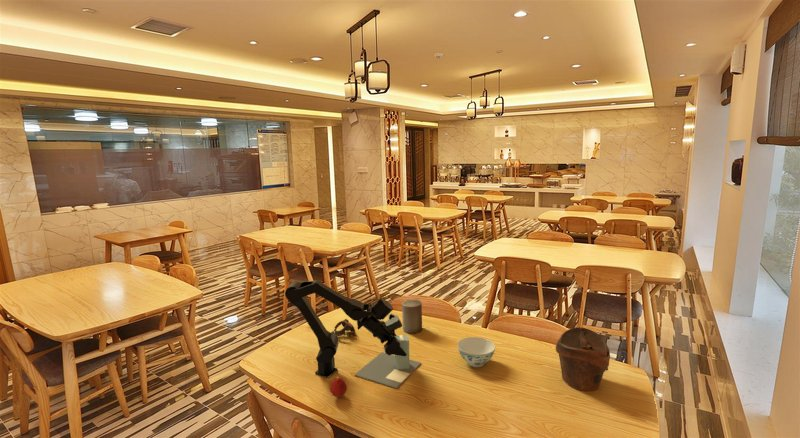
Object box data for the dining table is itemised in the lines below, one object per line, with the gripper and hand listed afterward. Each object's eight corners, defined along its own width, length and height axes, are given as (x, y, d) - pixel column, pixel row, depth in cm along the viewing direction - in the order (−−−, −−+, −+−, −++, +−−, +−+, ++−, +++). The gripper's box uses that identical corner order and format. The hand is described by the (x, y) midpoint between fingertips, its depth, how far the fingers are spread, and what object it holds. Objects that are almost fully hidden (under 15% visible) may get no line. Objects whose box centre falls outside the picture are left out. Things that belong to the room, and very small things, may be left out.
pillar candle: (425, 327, 196) (425, 298, 194) (416, 335, 188) (415, 305, 186) (408, 324, 201) (408, 295, 199) (398, 331, 193) (397, 301, 191)
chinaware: (495, 374, 154) (495, 355, 152) (456, 371, 157) (456, 352, 155) (494, 355, 168) (494, 338, 167) (458, 352, 171) (458, 335, 170)
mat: (396, 388, 145) (396, 387, 145) (354, 375, 155) (354, 374, 155) (421, 363, 162) (421, 362, 162) (381, 353, 172) (381, 351, 172)
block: (409, 368, 158) (409, 339, 156) (397, 370, 157) (396, 341, 155) (407, 362, 163) (406, 334, 161) (395, 363, 162) (394, 335, 160)
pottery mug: (357, 339, 186) (349, 327, 183) (340, 348, 187) (331, 336, 184) (357, 323, 197) (348, 311, 194) (340, 331, 198) (331, 320, 194)
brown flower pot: (579, 402, 135) (582, 352, 133) (543, 372, 154) (545, 328, 152) (622, 393, 140) (626, 345, 137) (582, 365, 159) (585, 323, 156)
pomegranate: (339, 390, 145) (338, 370, 144) (350, 396, 141) (349, 375, 140) (327, 398, 141) (326, 377, 139) (338, 404, 137) (337, 383, 136)
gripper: (393, 321, 146) (422, 345, 150) (386, 302, 164) (412, 325, 168) (372, 343, 146) (403, 367, 150) (367, 322, 164) (394, 344, 168)
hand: (403, 349), depth 159 cm, fingers open, 9 cm apart
